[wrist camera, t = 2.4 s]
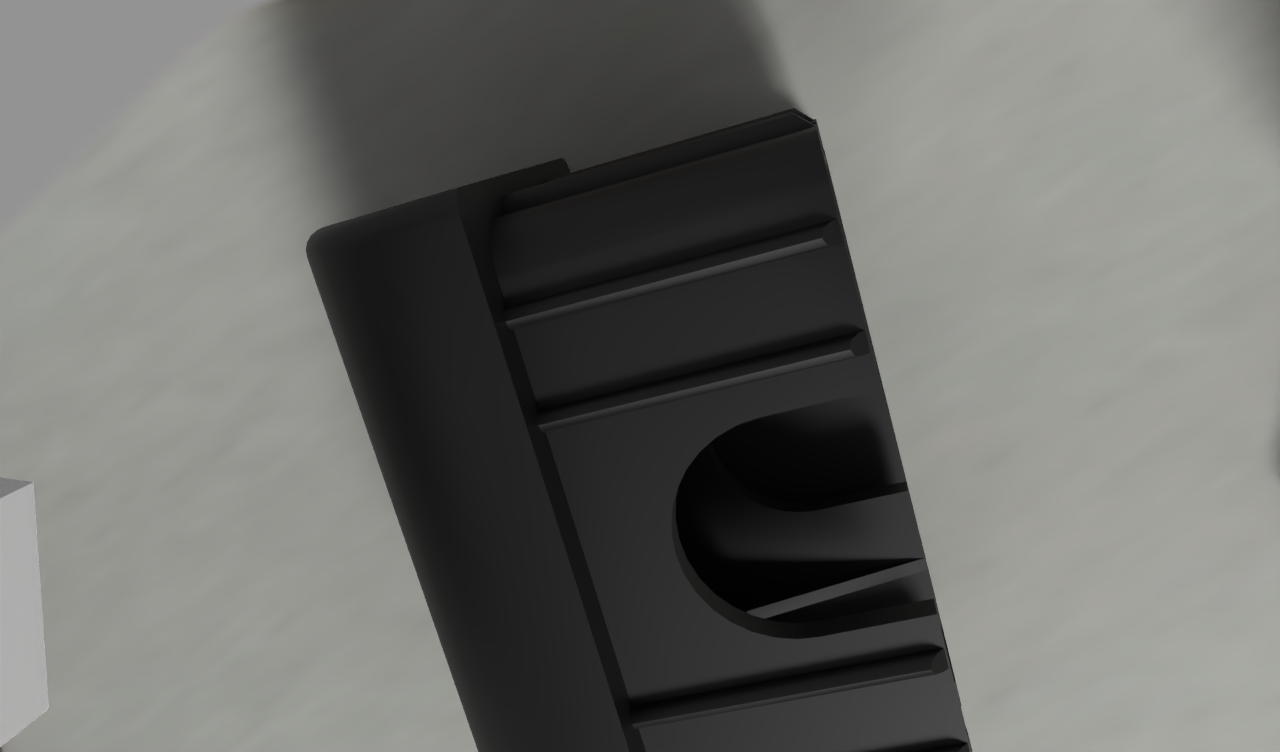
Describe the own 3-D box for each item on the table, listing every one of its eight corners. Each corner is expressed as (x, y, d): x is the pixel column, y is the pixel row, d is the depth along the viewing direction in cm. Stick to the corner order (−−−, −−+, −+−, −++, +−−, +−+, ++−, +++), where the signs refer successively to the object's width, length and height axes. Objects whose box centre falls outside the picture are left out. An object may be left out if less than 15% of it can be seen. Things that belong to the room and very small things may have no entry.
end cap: (409, 203, 20) (211, 259, 13) (807, 85, 18) (805, 85, 12) (573, 710, 22) (471, 975, 15) (946, 640, 20) (1007, 900, 14)
